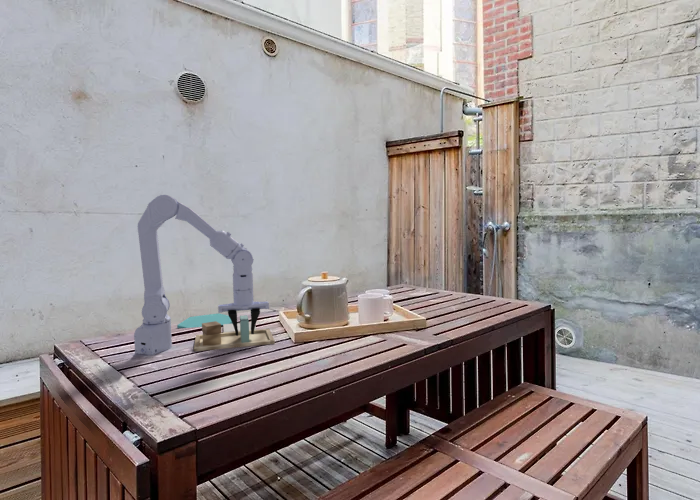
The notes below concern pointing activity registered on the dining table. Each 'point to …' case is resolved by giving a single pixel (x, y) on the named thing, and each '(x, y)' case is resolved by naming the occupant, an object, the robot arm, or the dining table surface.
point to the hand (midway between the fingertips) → (244, 334)
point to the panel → (244, 328)
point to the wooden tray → (236, 340)
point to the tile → (231, 328)
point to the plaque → (204, 320)
